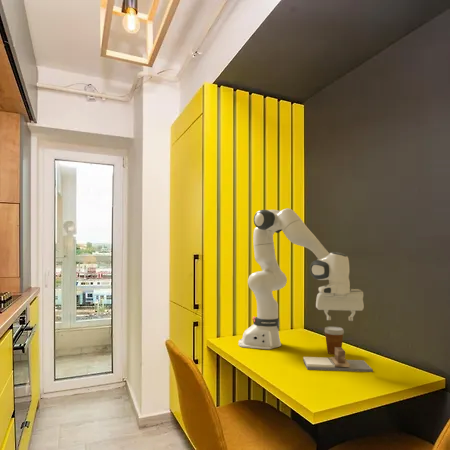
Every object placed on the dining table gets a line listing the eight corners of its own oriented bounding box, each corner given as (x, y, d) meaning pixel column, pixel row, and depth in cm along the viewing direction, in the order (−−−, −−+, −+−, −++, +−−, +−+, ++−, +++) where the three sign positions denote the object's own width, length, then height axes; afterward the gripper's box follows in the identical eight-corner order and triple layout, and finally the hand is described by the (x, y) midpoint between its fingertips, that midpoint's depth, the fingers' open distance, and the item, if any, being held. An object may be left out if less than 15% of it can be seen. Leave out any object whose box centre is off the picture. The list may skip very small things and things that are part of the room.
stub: (335, 366, 151) (335, 352, 151) (330, 359, 161) (330, 345, 161) (350, 367, 150) (349, 352, 151) (343, 359, 160) (343, 346, 161)
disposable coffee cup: (322, 354, 172) (322, 329, 173) (326, 349, 181) (326, 325, 181) (342, 357, 168) (342, 331, 169) (345, 352, 176) (345, 327, 177)
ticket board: (307, 369, 151) (307, 364, 151) (303, 360, 163) (303, 355, 163) (372, 371, 149) (372, 366, 149) (363, 362, 161) (363, 357, 161)
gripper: (361, 288, 160) (361, 319, 159) (315, 287, 161) (315, 318, 161) (365, 289, 154) (366, 322, 153) (317, 289, 155) (318, 321, 154)
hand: (339, 320), depth 157 cm, fingers open, 8 cm apart
